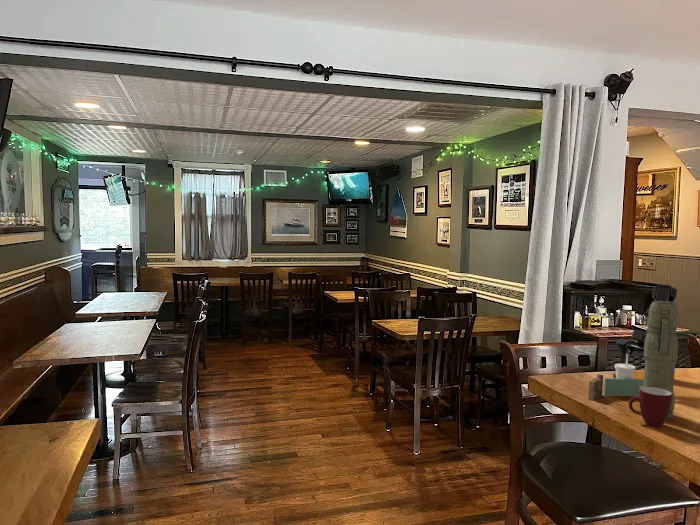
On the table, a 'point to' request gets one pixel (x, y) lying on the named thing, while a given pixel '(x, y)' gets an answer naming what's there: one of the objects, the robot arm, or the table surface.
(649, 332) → the thermos
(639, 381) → the green block
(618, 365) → the smoothie
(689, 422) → the table surface
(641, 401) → the mug
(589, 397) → the brown block
